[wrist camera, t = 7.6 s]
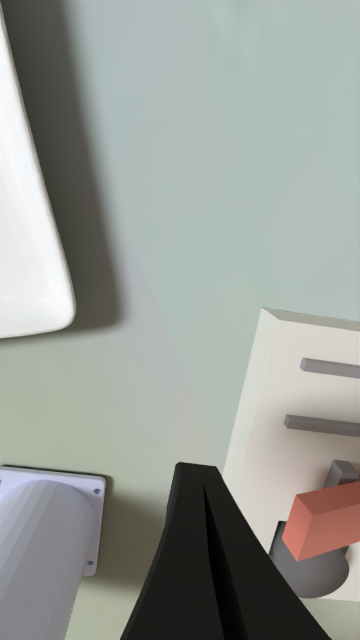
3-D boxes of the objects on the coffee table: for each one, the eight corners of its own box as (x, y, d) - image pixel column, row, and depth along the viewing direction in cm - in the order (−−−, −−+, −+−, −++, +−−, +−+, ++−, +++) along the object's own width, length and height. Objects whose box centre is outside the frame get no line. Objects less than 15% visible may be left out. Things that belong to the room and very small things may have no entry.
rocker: (380, 511, 18) (401, 530, 17) (281, 538, 15) (298, 563, 14) (396, 473, 18) (419, 490, 16) (295, 494, 15) (314, 517, 14)
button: (314, 550, 22) (337, 600, 19) (260, 545, 22) (274, 595, 19) (330, 506, 21) (358, 551, 18) (273, 500, 21) (291, 545, 18)
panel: (346, 558, 24) (380, 619, 20) (205, 545, 23) (212, 607, 19) (437, 333, 19) (506, 357, 15) (261, 307, 18) (286, 325, 14)
